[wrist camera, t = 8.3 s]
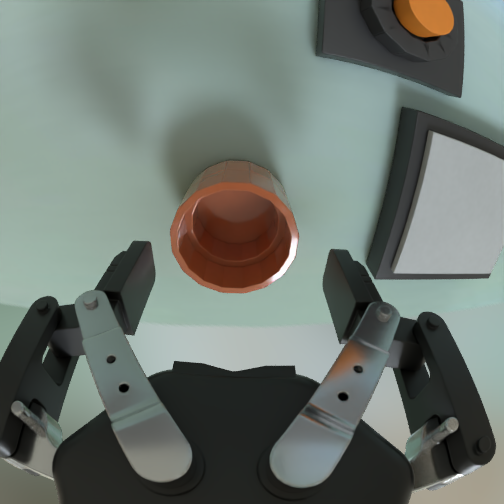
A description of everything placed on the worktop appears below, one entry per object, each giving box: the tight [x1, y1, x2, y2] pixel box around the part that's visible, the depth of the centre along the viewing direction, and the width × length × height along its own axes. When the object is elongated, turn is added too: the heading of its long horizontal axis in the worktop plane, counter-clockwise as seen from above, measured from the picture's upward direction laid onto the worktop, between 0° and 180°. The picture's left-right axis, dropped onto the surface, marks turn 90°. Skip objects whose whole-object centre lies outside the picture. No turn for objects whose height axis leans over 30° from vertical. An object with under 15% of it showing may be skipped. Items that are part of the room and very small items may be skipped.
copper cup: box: [170, 160, 299, 293], centre depth 16 cm, size 6×6×5 cm
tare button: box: [394, 0, 454, 37], centre depth 8 cm, size 3×3×2 cm
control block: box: [316, 0, 464, 98], centre depth 10 cm, size 10×8×3 cm
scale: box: [366, 107, 504, 279], centre depth 17 cm, size 14×12×3 cm
